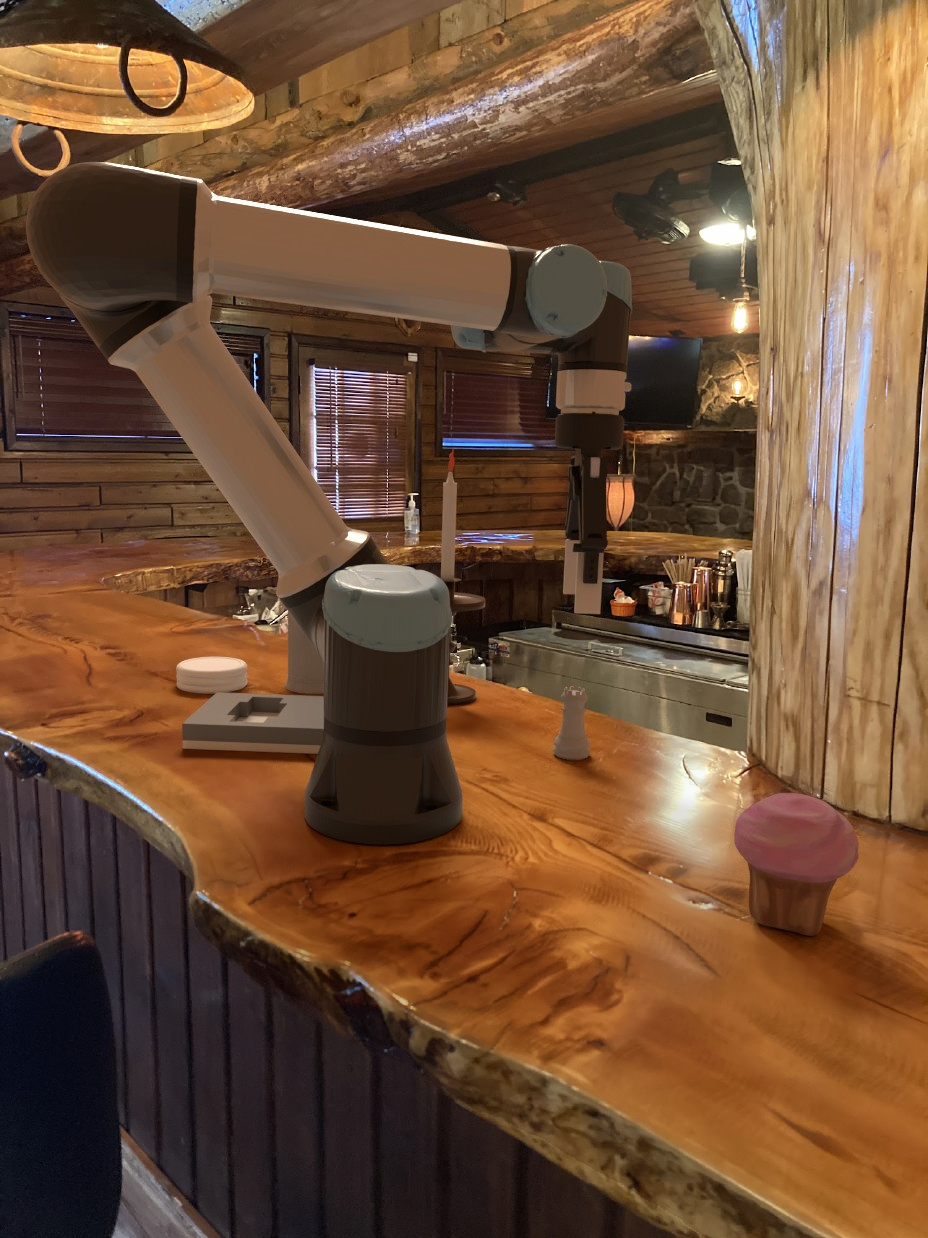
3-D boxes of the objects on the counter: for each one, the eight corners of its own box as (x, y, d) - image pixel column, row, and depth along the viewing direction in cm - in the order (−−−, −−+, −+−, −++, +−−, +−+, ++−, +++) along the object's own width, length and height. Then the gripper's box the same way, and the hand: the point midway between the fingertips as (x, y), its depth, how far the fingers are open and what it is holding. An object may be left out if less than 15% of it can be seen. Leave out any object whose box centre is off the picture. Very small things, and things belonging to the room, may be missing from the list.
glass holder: (272, 687, 134) (271, 585, 132) (330, 669, 147) (330, 575, 144) (321, 696, 130) (321, 591, 128) (376, 677, 143) (377, 581, 140)
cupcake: (719, 932, 69) (730, 805, 67) (735, 885, 77) (745, 770, 75) (847, 962, 65) (863, 829, 63) (851, 909, 73) (864, 789, 71)
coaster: (256, 680, 139) (256, 657, 139) (233, 697, 129) (233, 673, 129) (192, 676, 140) (192, 654, 140) (165, 693, 130) (164, 669, 130)
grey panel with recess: (408, 757, 106) (409, 689, 104) (182, 748, 106) (181, 681, 105) (416, 722, 120) (418, 662, 118) (217, 714, 120) (216, 654, 119)
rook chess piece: (551, 748, 111) (554, 683, 109) (588, 749, 111) (592, 685, 109) (553, 760, 106) (557, 693, 105) (592, 762, 106) (596, 695, 105)
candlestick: (428, 684, 139) (434, 448, 133) (494, 694, 135) (503, 450, 129) (392, 700, 130) (396, 447, 124) (461, 711, 125) (469, 449, 119)
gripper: (644, 408, 89) (630, 623, 93) (609, 417, 114) (599, 588, 118) (566, 406, 89) (556, 621, 93) (548, 416, 114) (540, 586, 118)
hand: (580, 603), depth 105 cm, fingers open, 13 cm apart
